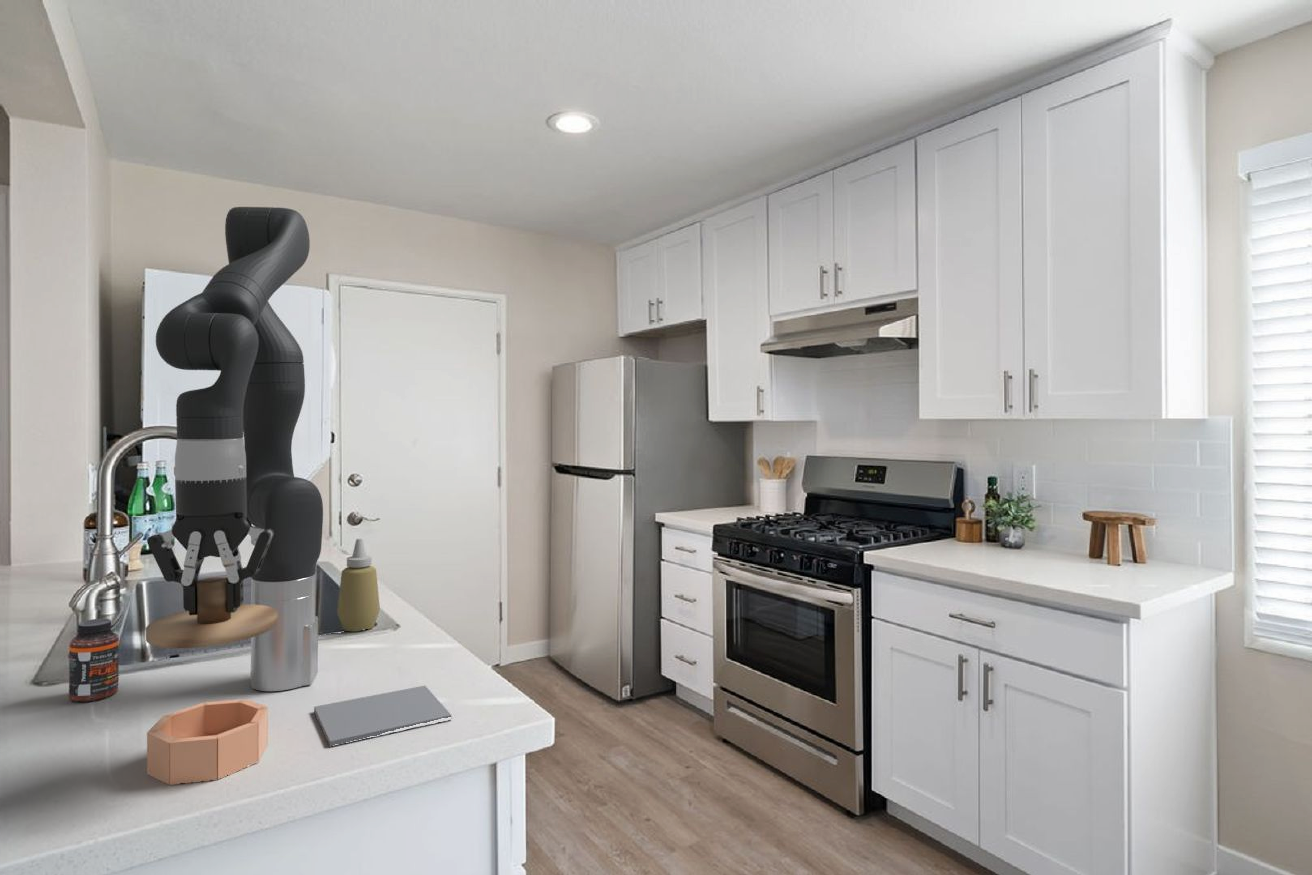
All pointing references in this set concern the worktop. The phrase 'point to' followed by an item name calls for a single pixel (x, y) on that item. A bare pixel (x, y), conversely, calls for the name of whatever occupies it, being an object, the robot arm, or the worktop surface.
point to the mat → (378, 714)
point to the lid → (211, 620)
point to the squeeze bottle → (358, 592)
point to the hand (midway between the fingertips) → (213, 611)
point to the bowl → (207, 741)
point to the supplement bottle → (93, 661)
